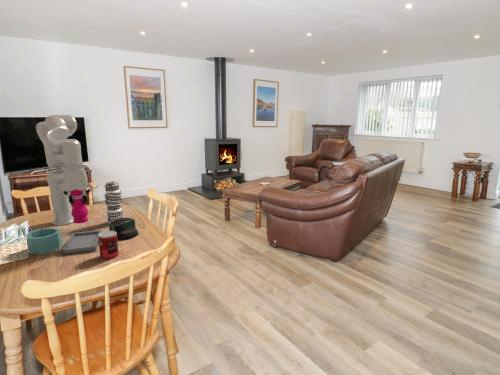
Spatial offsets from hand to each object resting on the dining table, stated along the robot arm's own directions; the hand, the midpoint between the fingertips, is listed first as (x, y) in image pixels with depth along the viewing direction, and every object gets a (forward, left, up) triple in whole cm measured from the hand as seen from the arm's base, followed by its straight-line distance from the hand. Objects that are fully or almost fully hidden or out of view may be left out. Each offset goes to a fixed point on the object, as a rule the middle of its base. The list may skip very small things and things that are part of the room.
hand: (78, 203), depth 149 cm
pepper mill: (0, 0, -10) cm, 10 cm away
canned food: (+18, +14, -22) cm, 32 cm away
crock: (0, -17, -22) cm, 28 cm away
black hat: (-7, +18, -22) cm, 29 cm away
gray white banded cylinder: (-30, +12, -22) cm, 39 cm away
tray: (0, 0, -22) cm, 22 cm away
